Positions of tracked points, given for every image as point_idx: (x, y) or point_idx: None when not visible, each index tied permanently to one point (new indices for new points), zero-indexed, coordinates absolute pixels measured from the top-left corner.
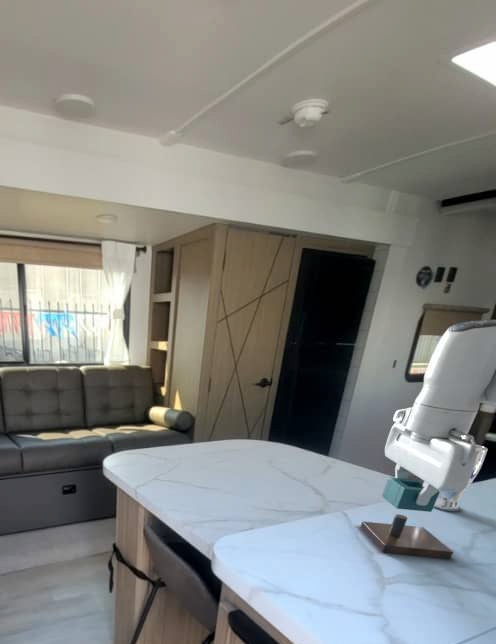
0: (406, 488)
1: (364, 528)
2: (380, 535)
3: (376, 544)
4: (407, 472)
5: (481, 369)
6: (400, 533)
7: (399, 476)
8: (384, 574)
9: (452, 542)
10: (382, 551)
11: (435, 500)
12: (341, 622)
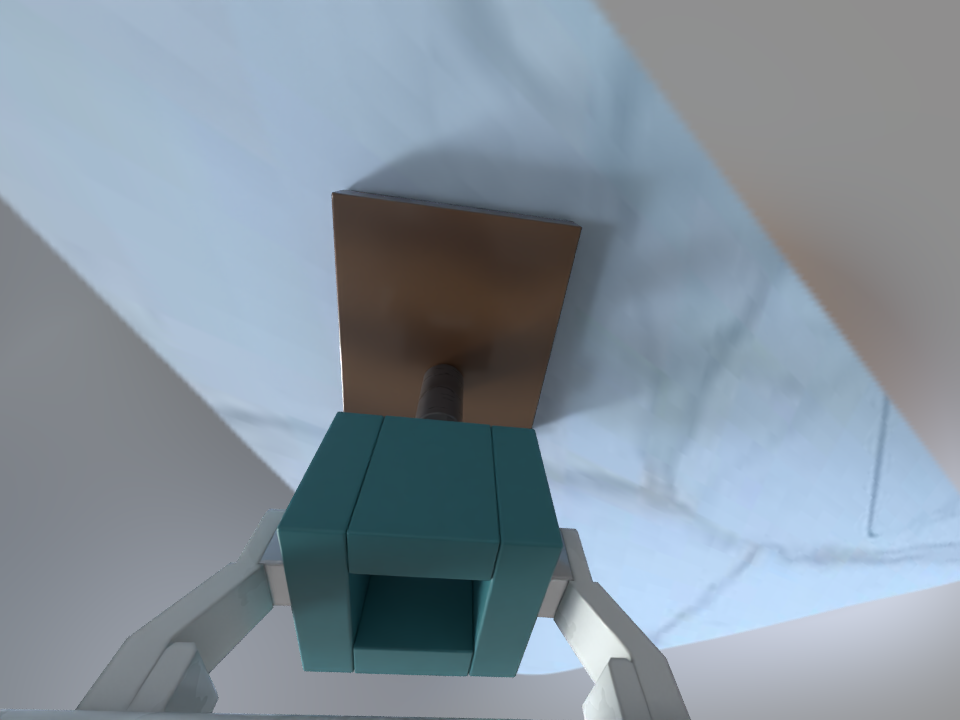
0: (510, 671)
1: None
2: None
3: None
4: (195, 627)
5: None
6: (462, 383)
7: (249, 621)
8: (634, 480)
9: (414, 62)
10: None
11: (549, 491)
12: (750, 597)
